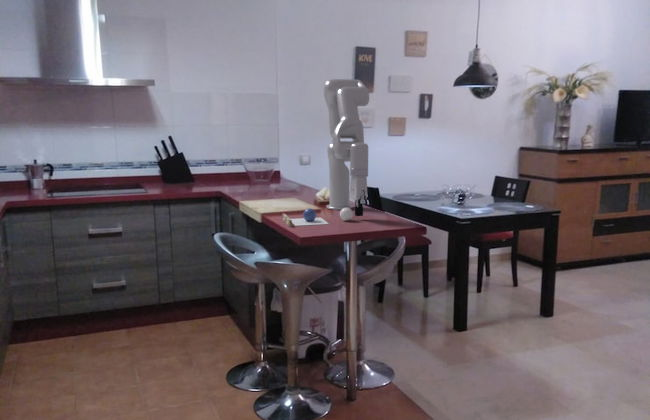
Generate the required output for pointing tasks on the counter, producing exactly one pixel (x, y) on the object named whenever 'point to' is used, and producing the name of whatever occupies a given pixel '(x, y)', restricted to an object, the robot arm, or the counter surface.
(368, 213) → the counter surface
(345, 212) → the cue ball
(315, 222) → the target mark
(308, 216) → the navy ball
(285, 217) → the stopper rail
